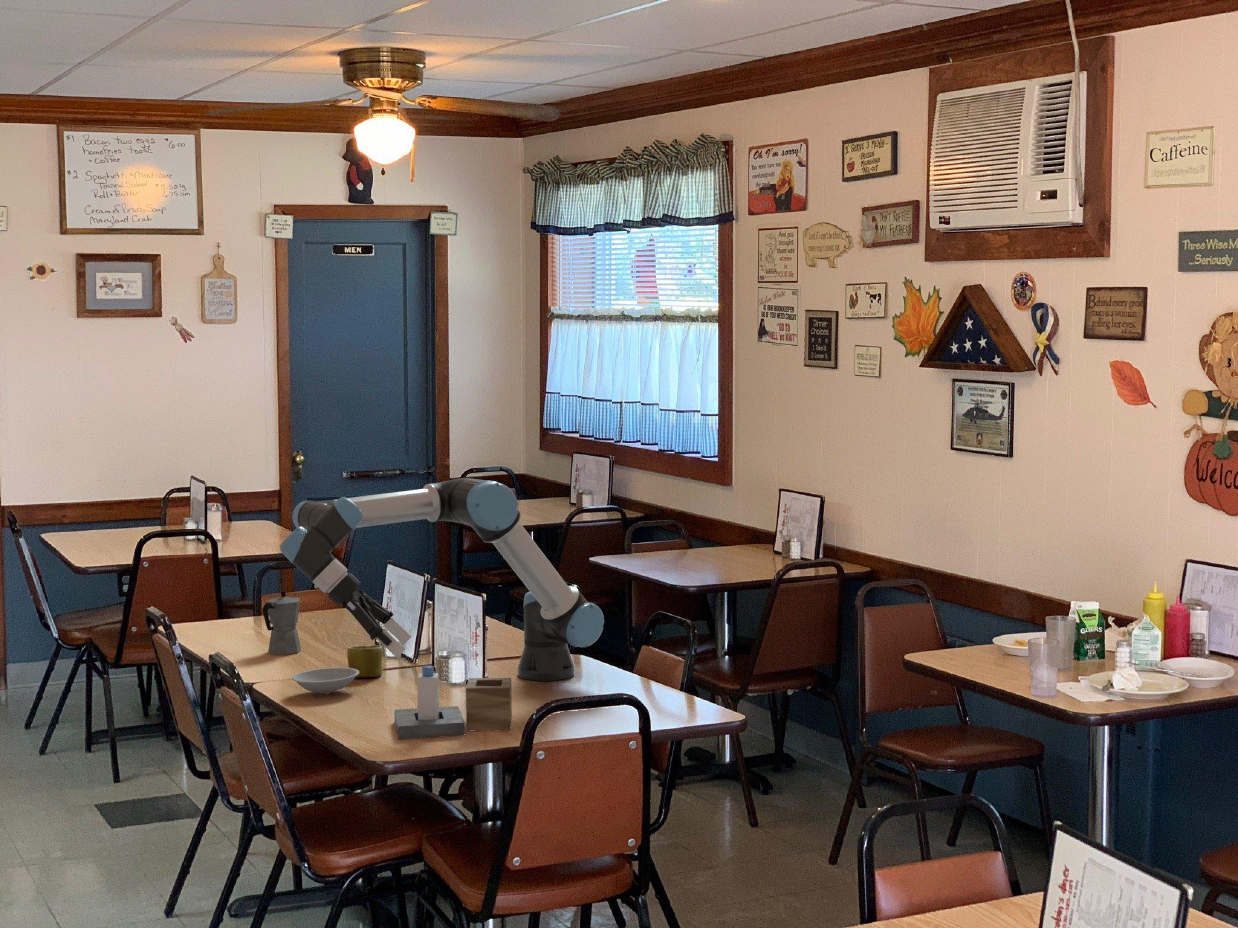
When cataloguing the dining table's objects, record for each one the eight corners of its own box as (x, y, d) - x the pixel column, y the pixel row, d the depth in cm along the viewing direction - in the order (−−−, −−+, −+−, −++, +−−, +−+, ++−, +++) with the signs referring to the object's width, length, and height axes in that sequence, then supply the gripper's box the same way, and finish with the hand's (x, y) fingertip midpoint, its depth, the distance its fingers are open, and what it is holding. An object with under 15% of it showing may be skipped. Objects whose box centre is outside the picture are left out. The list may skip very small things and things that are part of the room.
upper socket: (469, 719, 336) (468, 678, 336) (511, 719, 337) (511, 677, 336) (466, 731, 326) (465, 688, 326) (510, 730, 327) (509, 687, 326)
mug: (379, 674, 374) (371, 637, 376) (345, 685, 376) (336, 648, 378) (398, 673, 386) (390, 637, 388) (365, 683, 388) (356, 647, 390)
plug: (420, 723, 331) (419, 664, 330) (439, 723, 331) (438, 664, 330) (418, 729, 326) (417, 669, 325) (437, 728, 327) (436, 668, 325)
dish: (309, 704, 351) (308, 684, 350) (281, 694, 361) (280, 674, 361) (371, 693, 362) (370, 673, 362) (342, 683, 373) (341, 664, 373)
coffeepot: (286, 645, 419) (285, 585, 417) (312, 648, 415) (311, 588, 413) (251, 656, 405) (249, 593, 404) (277, 659, 401) (275, 596, 400)
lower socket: (458, 718, 338) (458, 705, 337) (464, 735, 323) (464, 722, 323) (394, 721, 334) (394, 709, 334) (398, 739, 320) (398, 726, 320)
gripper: (334, 585, 337) (399, 646, 339) (316, 604, 313) (386, 670, 315) (356, 562, 337) (421, 624, 339) (340, 580, 312) (410, 646, 314)
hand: (404, 646), depth 327 cm, fingers open, 13 cm apart
